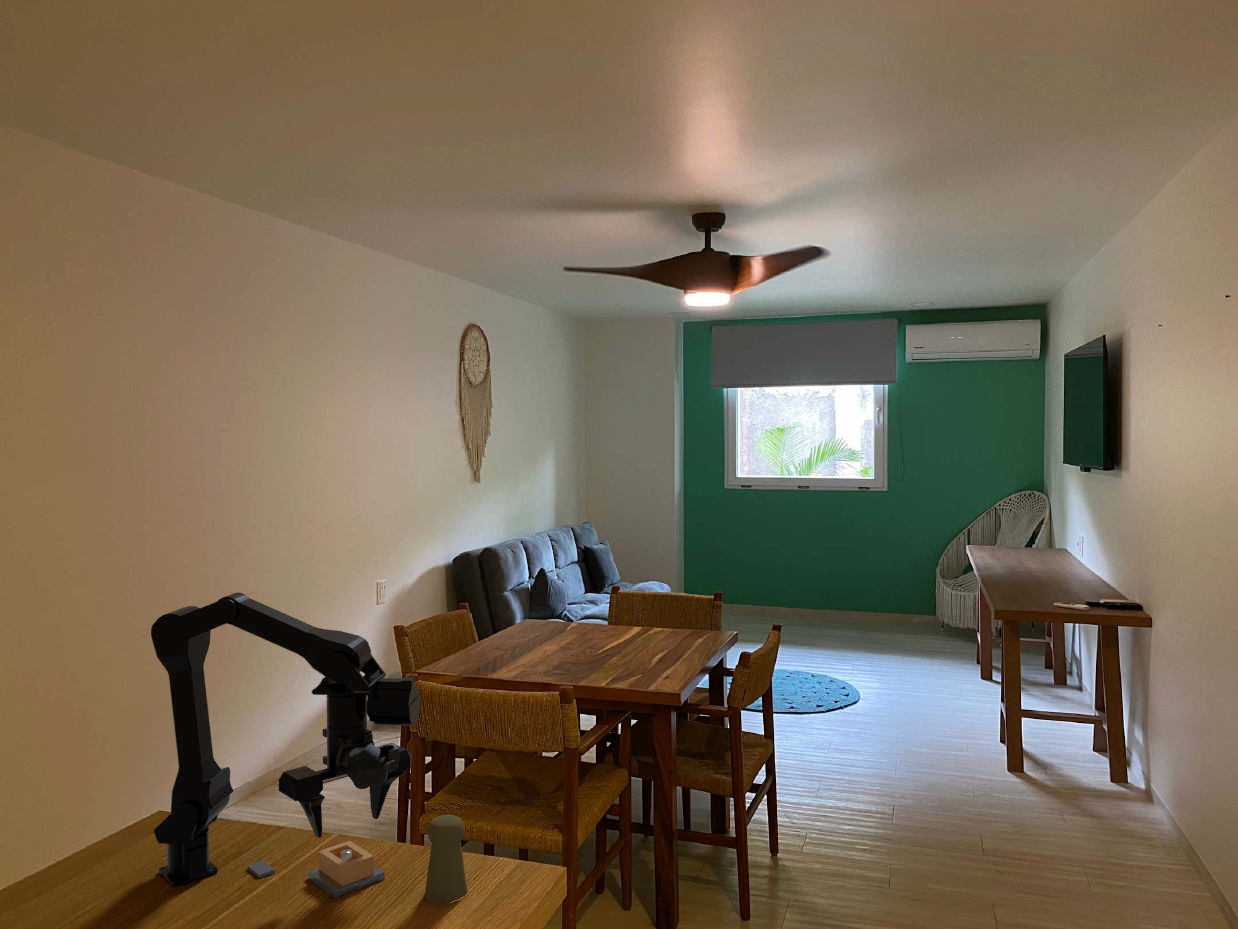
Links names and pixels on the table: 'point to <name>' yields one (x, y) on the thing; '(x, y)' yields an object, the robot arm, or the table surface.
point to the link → (346, 863)
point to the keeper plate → (339, 890)
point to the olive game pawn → (445, 860)
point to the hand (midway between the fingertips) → (347, 827)
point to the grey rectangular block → (261, 869)
